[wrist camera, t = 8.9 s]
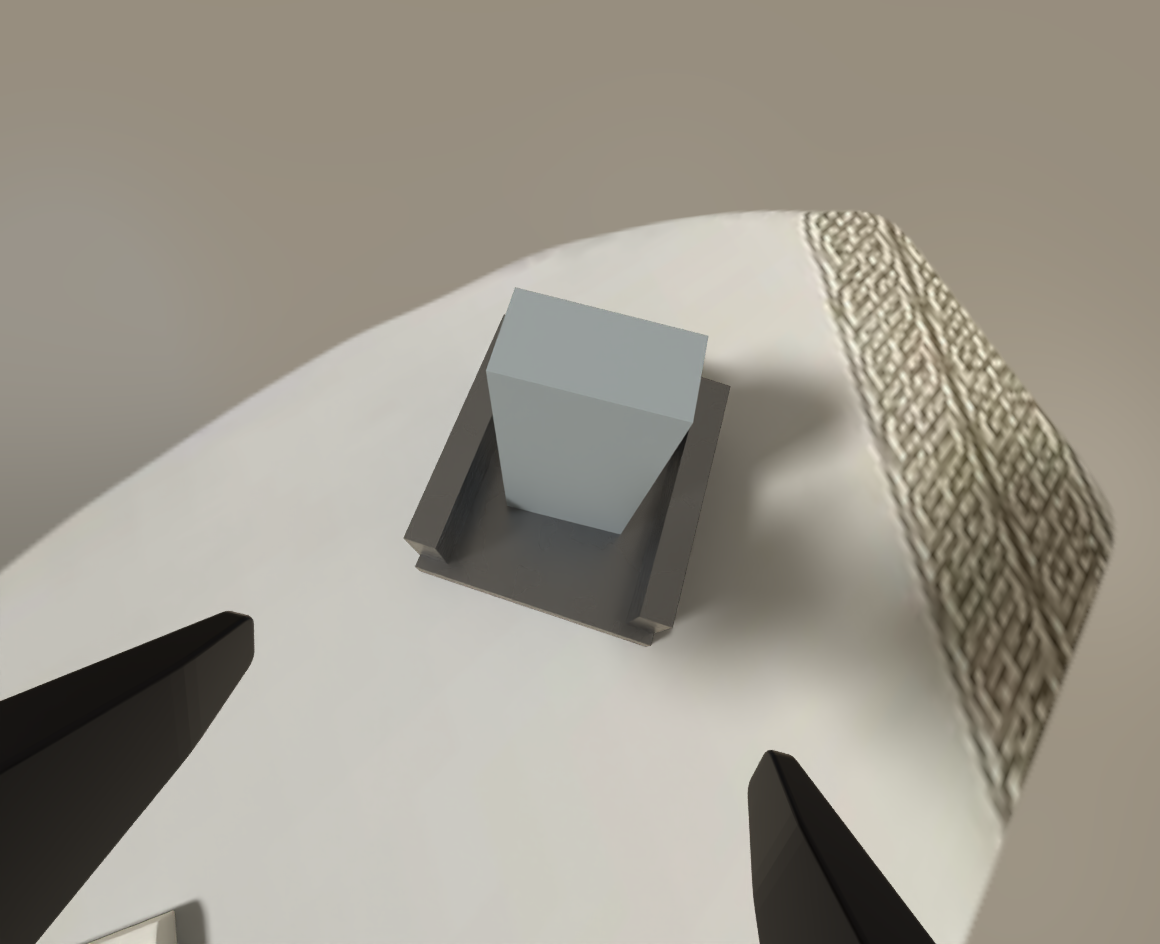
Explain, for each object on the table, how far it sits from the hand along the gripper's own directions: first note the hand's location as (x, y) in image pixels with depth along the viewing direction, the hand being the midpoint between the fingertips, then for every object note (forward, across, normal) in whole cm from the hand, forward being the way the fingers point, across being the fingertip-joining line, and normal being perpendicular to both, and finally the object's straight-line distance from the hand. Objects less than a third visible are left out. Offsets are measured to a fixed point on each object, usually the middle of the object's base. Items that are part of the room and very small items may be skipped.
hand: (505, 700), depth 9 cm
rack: (+15, 0, +3) cm, 16 cm away
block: (+14, 0, +3) cm, 14 cm away
